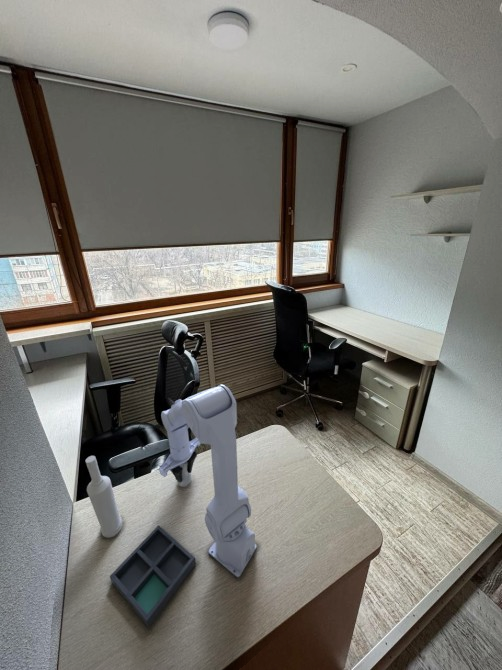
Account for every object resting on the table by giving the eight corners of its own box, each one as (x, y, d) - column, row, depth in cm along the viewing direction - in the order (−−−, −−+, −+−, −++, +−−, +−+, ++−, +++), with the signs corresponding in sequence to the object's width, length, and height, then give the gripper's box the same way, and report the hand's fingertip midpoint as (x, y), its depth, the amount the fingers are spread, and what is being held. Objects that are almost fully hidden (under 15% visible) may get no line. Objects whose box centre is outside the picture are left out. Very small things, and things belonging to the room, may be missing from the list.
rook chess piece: (193, 475, 87) (191, 457, 84) (189, 488, 83) (186, 469, 80) (180, 474, 88) (177, 456, 85) (175, 486, 84) (172, 468, 81)
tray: (196, 563, 65) (195, 557, 64) (148, 628, 54) (146, 621, 53) (159, 531, 71) (158, 524, 70) (111, 582, 61) (109, 576, 60)
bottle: (114, 540, 69) (91, 470, 60) (97, 536, 70) (72, 466, 61) (126, 520, 74) (107, 452, 65) (110, 517, 75) (89, 449, 66)
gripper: (187, 423, 87) (191, 454, 92) (149, 452, 76) (156, 486, 81) (203, 431, 83) (206, 464, 88) (166, 463, 72) (172, 498, 77)
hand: (183, 475), depth 85 cm, fingers closed on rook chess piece, 3 cm apart
